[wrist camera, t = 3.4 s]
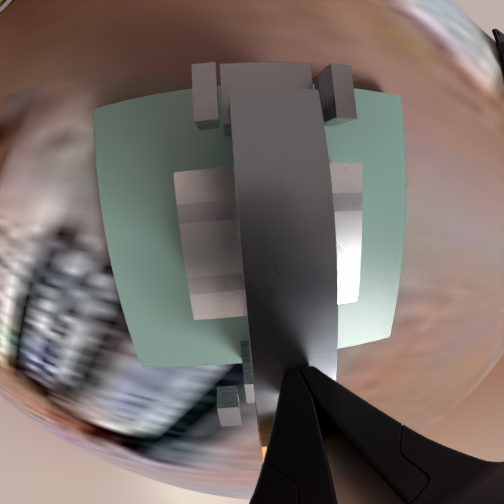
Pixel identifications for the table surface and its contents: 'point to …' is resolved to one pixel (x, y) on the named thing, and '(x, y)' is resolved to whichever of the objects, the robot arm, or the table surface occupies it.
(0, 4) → the supplement bottle
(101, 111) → the board
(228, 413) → the post
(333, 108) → the post
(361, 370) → the table surface
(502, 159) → the table surface
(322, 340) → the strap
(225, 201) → the heatsink
